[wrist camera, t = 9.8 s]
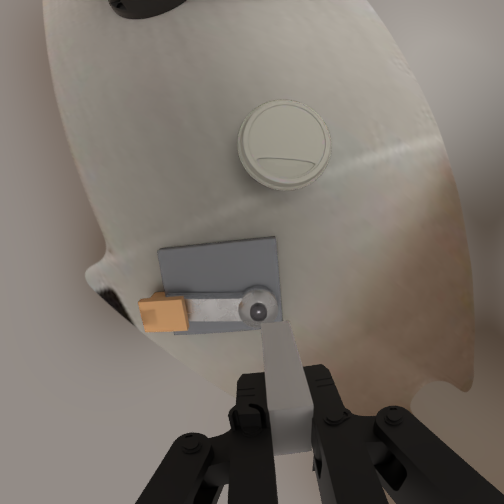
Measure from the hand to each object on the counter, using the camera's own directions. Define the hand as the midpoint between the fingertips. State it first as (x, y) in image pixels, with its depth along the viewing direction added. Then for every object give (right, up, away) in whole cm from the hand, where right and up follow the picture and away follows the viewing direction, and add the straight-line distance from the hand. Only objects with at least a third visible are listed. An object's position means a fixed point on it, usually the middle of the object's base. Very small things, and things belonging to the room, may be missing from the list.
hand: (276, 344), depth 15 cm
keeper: (-12, -1, +23) cm, 26 cm away
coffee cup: (+2, +17, +20) cm, 26 cm away
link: (-5, -2, +21) cm, 22 cm away
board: (-5, 0, +23) cm, 23 cm away
